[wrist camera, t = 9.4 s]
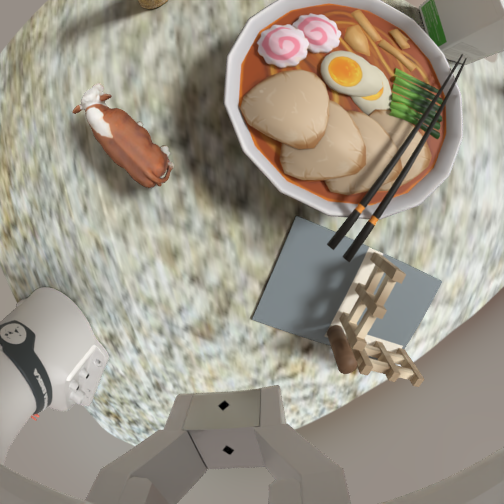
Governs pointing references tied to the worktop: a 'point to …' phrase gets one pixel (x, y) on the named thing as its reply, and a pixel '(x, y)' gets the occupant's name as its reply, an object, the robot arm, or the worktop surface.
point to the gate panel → (370, 300)
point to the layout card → (338, 289)
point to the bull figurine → (125, 139)
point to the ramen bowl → (344, 107)
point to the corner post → (341, 349)
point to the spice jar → (151, 3)
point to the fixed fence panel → (387, 363)
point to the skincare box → (465, 27)
